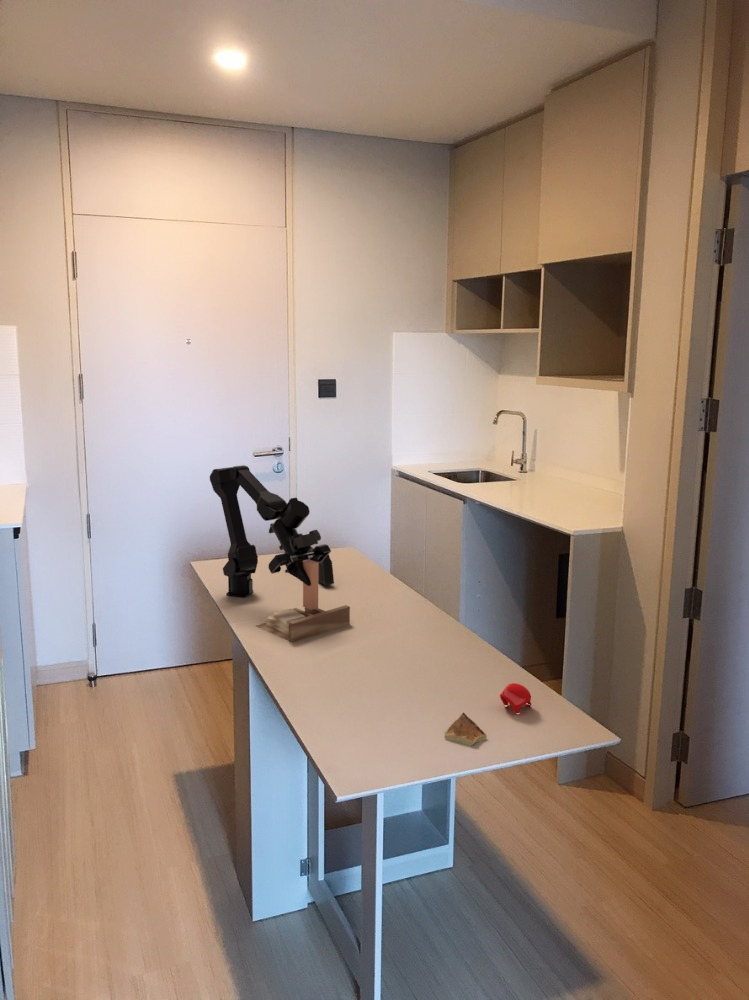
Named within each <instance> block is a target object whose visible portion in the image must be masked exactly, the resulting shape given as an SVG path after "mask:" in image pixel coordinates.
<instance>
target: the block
mask: <svg viewBox="0 0 749 1000" xmlns="http://www.w3.org/2000/svg"><path fill="white" fill-rule="evenodd" d="M303 568H304V570H305V572H306V573H307V575H308V577H309V579H310V582H311V585H310V586H308V585H306V584H305V583H303V582H302V607H303V608H304V609H305V608H308V609H311V610H312V609H316V608H319V583H318V569H319V563H318V562H315V561H312V560H307V561H303Z"/></svg>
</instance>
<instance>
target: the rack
mask: <svg viewBox="0 0 749 1000" xmlns="http://www.w3.org/2000/svg"><path fill="white" fill-rule="evenodd" d="M350 609H351V607H350V605H346V604H345V605H342V606H339V607H335V608H330V609H329V610H324V609H321V608H319V607H318V608H316V609H312V610H311V609H308V608H305V607H304V610H302V609H300V608H297V607H294V608H289V609H288V608H286V609H283V610H279V611H274V612H272V615H269V616H266V620H265V622H264V623H260V624H256V625H255V627H257V628H259V629H262V630H264V631H266V632H268V633H270V634H272V635H274V636H278V637H279V638H282V639H284V640H286V641H288V642H291V643H296V642H299V641H301V640H305V639H308V638H311V637H314V636H317V635H321V634H323V633H327V632H330V631H333V630H336V629H338V628H342V627H345V626H348V625H350V620H351V619H350V618H351V616H350V615H351V613H350V611H351V610H350Z"/></svg>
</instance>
